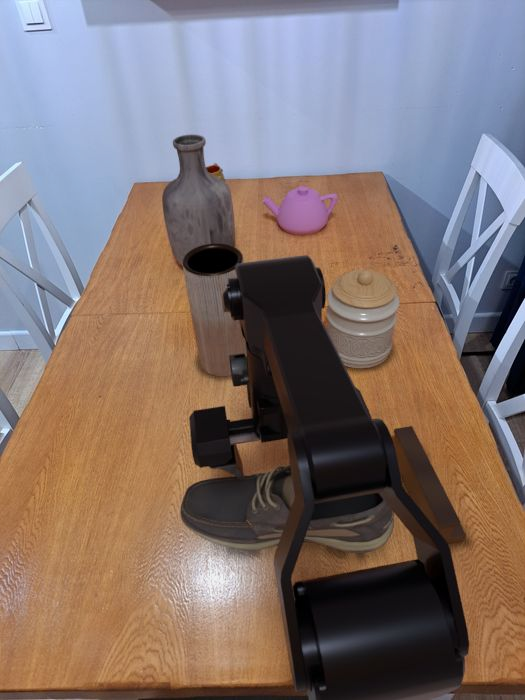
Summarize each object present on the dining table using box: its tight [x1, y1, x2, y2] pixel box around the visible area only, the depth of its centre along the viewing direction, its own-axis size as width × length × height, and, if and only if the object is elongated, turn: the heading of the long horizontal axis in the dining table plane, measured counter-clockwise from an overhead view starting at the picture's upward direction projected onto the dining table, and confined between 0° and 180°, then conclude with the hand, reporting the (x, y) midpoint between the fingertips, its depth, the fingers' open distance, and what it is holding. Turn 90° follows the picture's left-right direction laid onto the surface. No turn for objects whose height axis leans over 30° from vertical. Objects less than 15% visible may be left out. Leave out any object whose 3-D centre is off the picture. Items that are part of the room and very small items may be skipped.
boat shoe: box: [179, 464, 395, 554], centre depth 66 cm, size 11×29×11 cm, turn 88°
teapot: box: [262, 185, 339, 236], centre depth 131 cm, size 14×20×11 cm
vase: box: [161, 134, 236, 267], centre depth 112 cm, size 16×16×30 cm
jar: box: [325, 268, 401, 369], centre depth 90 cm, size 13×13×18 cm
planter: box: [182, 243, 247, 377], centre depth 88 cm, size 10×10×23 cm
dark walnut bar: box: [392, 425, 467, 545], centre depth 70 cm, size 16×5×6 cm, turn 9°
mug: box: [206, 162, 226, 182], centre depth 154 cm, size 12×7×7 cm, turn 173°
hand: (281, 470), depth 57 cm, fingers open, 9 cm apart
